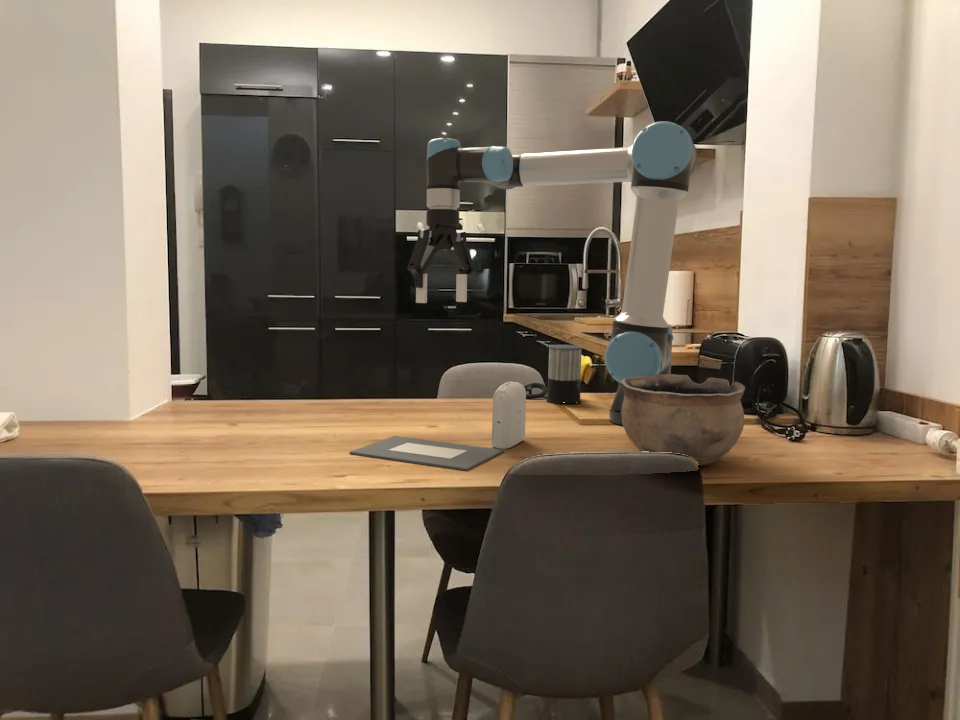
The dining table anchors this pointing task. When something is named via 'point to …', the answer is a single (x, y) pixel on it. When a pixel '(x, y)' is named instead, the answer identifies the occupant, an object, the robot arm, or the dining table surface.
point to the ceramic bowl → (683, 415)
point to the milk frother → (561, 375)
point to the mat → (428, 452)
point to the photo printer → (508, 415)
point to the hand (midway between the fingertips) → (441, 302)
